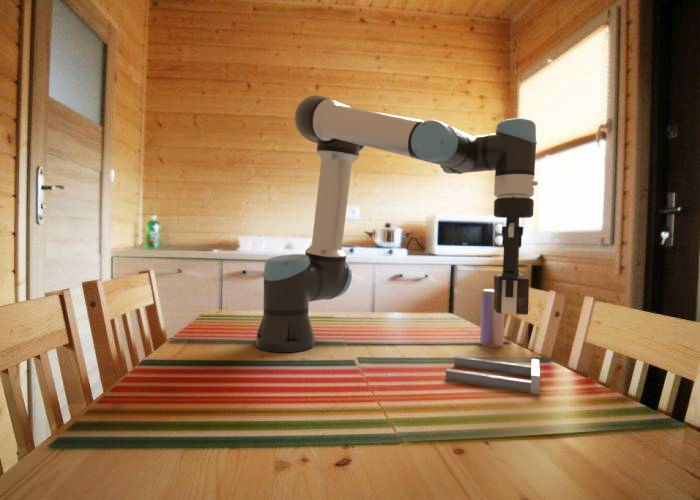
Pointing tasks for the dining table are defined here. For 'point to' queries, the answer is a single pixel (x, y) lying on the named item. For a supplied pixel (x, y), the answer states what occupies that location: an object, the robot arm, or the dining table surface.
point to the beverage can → (490, 321)
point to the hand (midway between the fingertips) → (509, 310)
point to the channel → (493, 380)
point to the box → (521, 295)
